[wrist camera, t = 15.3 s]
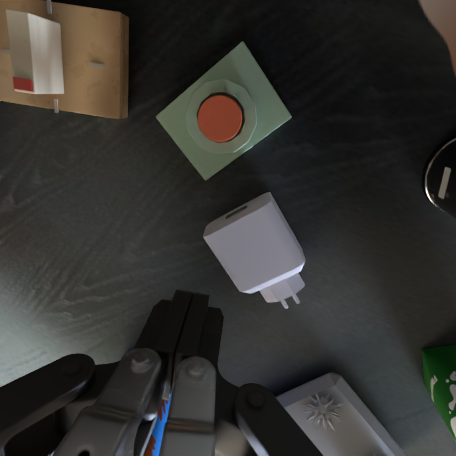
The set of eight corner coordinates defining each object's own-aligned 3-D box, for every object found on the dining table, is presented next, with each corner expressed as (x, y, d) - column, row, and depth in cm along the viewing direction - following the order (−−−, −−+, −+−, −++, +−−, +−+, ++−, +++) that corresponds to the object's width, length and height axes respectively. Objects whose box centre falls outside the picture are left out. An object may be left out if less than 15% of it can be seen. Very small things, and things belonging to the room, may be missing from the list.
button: (225, 85, 32) (223, 85, 31) (250, 122, 34) (250, 123, 32) (192, 113, 34) (188, 114, 32) (217, 147, 35) (215, 150, 33)
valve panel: (129, 13, 33) (119, 7, 31) (127, 120, 37) (119, 122, 35) (-3, -7, 33) (-23, -14, 31) (11, 102, 38) (-6, 103, 35)
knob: (41, 20, 32) (3, 8, 27) (60, 23, 32) (26, 11, 27) (46, 90, 34) (12, 90, 30) (64, 93, 34) (33, 94, 30)
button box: (243, 43, 33) (242, 38, 30) (290, 115, 36) (293, 118, 33) (159, 115, 37) (150, 117, 34) (207, 177, 39) (203, 185, 36)
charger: (261, 307, 46) (206, 223, 42) (321, 281, 44) (269, 189, 39) (262, 329, 42) (201, 238, 37) (328, 302, 40) (271, 201, 35)
